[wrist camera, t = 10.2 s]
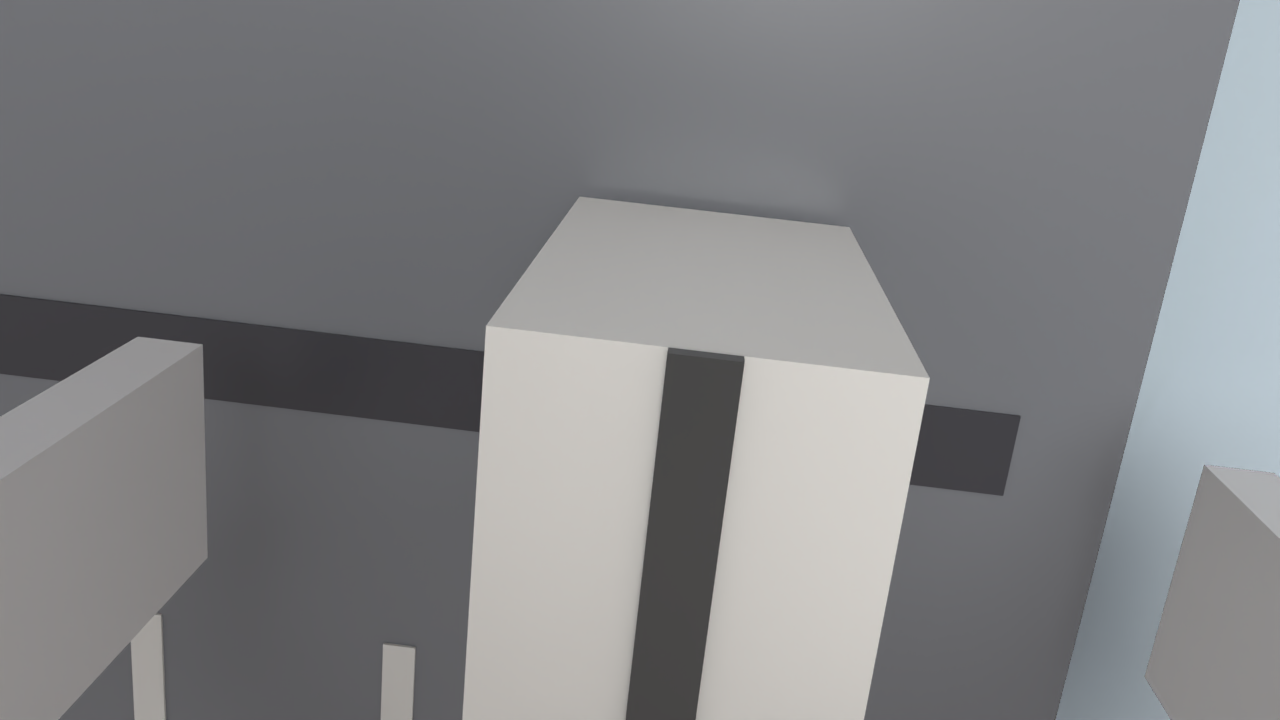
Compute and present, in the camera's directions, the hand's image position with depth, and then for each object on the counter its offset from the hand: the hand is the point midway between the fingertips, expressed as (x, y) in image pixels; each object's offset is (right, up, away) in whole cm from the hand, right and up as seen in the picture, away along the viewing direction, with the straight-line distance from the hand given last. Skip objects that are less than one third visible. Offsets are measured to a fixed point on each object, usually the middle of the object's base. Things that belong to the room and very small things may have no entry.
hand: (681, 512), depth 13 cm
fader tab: (0, +1, +3) cm, 3 cm away
